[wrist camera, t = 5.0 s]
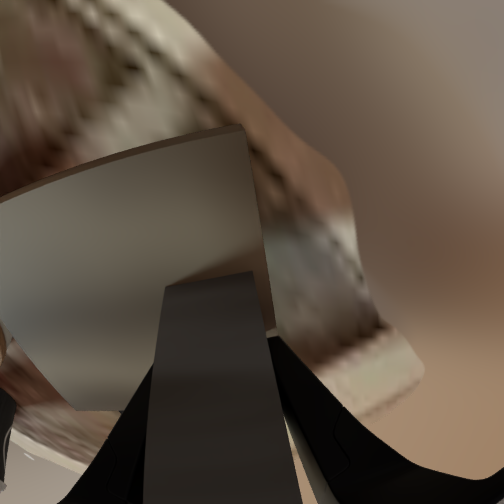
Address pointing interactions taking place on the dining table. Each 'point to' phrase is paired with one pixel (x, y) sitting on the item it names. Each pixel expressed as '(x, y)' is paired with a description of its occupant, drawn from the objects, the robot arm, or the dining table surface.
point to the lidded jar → (4, 340)
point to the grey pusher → (157, 309)
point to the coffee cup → (5, 430)
